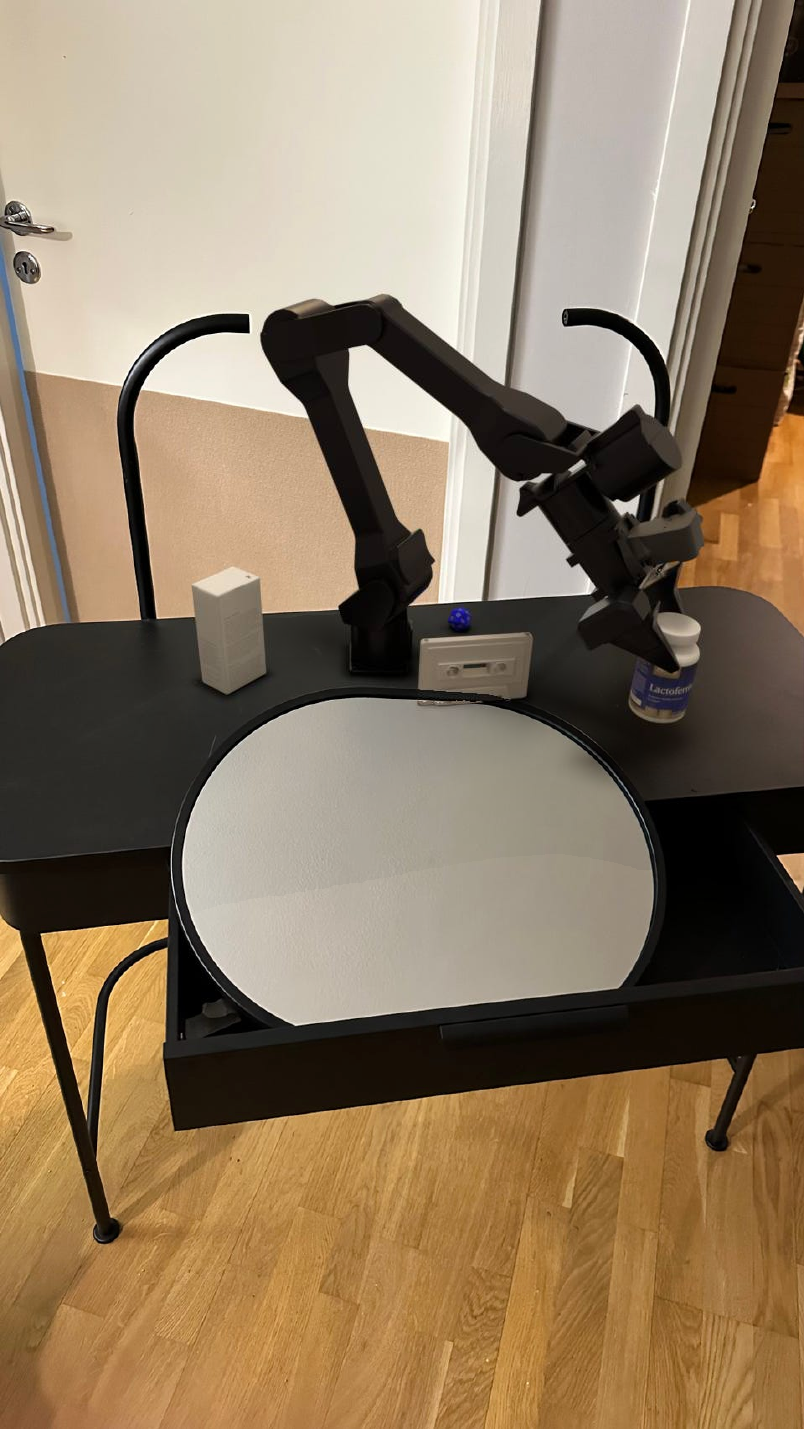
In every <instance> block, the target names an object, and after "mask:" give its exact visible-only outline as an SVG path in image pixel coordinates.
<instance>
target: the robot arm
mask: <svg viewBox="0 0 804 1429" xmlns="http://www.w3.org/2000/svg"><path fill="white" fill-rule="evenodd" d="M259 341H260V345H261V349H262V352H263V354H264V356H265V358H266V360H267V361H268V363H269V365H270V367H271V369H272V371H273V372H274V374H275V376H276V378H277V380H278V381H279V382H280V384H281V385H282V386H283V387H284V388H285V389H287V391H288V392H290V393H291V394H292V395H293V397H294V398H296V400H298V401H299V402H300V403H301V404H302V406H303V408H304V410H305V413H306V416H307V417H308V420H309V422H310V425H311V428H312V430H313V433H314V436H315V438H316V440H317V443H318V445H319V448H320V451H321V453H322V456H323V458H324V461H325V464H326V466H327V469H328V472H329V474H330V476H331V479H332V482H333V484H334V487H335V489H336V492H337V495H338V497H339V499H340V500H339V501H340V503H341V504H342V507H343V510H344V513H345V515H346V517H347V520H348V523H349V526H350V528H351V531H352V533H353V536H354V555H353V557H354V560H353V571H354V574H355V580H356V584H357V589H356V590H355V591H354V592H353V593H351V594H350V595H349V596H347V598H345V599H344V600H343V601H342V602H341V603H340V604H339V605H338V606H337V609H338V612H339V615H340V617H341V621H342V623H343V624H344V625H347V626H350V643H349V673H350V674H352V675H407V674H408V672H409V667H408V666H409V664H408V663H410V662H412V657H413V637H414V636H413V634H414V630H413V620H411V619H410V618H409V616H408V608H409V606H410V605H412V604H413V603H414V602H415V601H416V599H418V598H419V597H420V596H421V595H422V594H423V593H424V592H425V591H426V590H427V589H428V588H429V586H430V584H431V583H432V580H433V578H434V571H433V570H434V569H433V565H434V563H436V559H435V558H434V557H433V555H432V554H431V552H430V551H429V550H430V549H429V548H428V544H427V540H426V534H425V532H424V531H423V529H422V528H417V529H415V530H413V531H410V529H408V528H407V527H406V526H405V525H404V524H403V523H402V522H401V521H400V520H399V518H398V517H397V514H396V512H395V510H394V507H393V503H392V501H391V499H390V496H389V493H388V490H387V487H386V484H385V482H384V479H383V476H382V474H381V471H380V468H379V466H378V463H377V460H376V458H375V455H374V452H373V449H372V446H371V444H370V442H369V439H368V436H367V434H366V430H365V428H364V425H363V423H362V420H361V417H360V415H359V412H358V410H357V407H356V404H355V401H354V398H353V396H352V392H351V390H350V386H349V380H350V379H349V376H350V349H354V348H358V347H363V346H367V347H369V348H371V349H372V350H373V352H375V353H377V354H378V356H380V357H381V358H383V359H384V360H385V361H387V362H388V363H389V364H391V365H392V366H393V367H394V368H395V369H396V370H398V371H399V372H400V373H402V374H403V375H404V376H405V377H406V378H408V379H409V380H410V381H412V382H413V383H414V384H415V385H416V386H418V387H419V388H420V389H422V390H423V391H424V392H425V393H426V394H428V395H429V396H430V397H431V398H432V399H434V400H435V401H436V402H438V403H439V404H440V405H441V406H443V407H444V408H445V409H446V410H448V411H449V412H450V413H452V414H453V415H454V416H455V417H456V418H457V419H459V420H460V421H461V422H462V423H463V424H464V426H465V427H466V428H467V429H468V431H469V432H470V434H471V436H472V438H473V441H474V443H475V444H476V446H477V448H478V449H479V451H480V452H481V453H482V454H483V456H485V457H486V459H488V461H489V463H491V464H492V465H493V466H494V467H495V469H496V470H497V471H498V472H499V473H500V474H501V475H502V476H504V477H505V478H507V479H508V480H510V481H513V482H517V483H519V482H524V483H523V484H522V485H521V486H520V487H519V488H518V492H519V500H518V503H517V509H516V511H515V514H516V516H517V517H519V518H523V517H524V516H525V515H527V514H528V513H530V512H532V511H533V510H534V509H536V508H537V507H538V509H539V511H540V512H541V514H543V516H544V517H545V519H546V520H547V521H548V523H549V525H551V527H552V529H553V530H554V531H555V533H556V534H557V535H558V537H559V538H560V539H561V541H562V542H563V544H564V545H565V547H566V548H567V550H568V551H569V552H570V554H569V555H568V556H567V557H566V558H565V562H567V564H568V565H569V566H570V568H571V569H573V568H574V567H575V566H577V565H579V566H580V567H581V569H582V571H583V572H584V573H585V574H586V576H587V578H588V579H589V580H590V581H591V583H592V584H593V586H594V589H593V590H592V591H591V592H590V596H591V597H592V599H593V600H594V601H595V603H594V604H593V605H590V606H589V607H588V608H587V610H586V611H585V613H584V614H583V615H582V617H581V618H580V619H579V620H578V622H577V627H576V628H577V629H576V637H577V639H579V641H580V642H581V643H582V645H583V646H584V647H585V649H586V650H587V651H588V652H591V651H594V650H595V649H597V648H599V647H600V646H603V645H608V644H610V645H613V646H614V647H617V648H619V649H621V650H624V651H626V652H628V653H630V654H633V655H635V656H636V657H637V658H638V657H640V658H642V659H644V660H646V661H648V662H650V663H652V664H653V665H655V666H657V667H659V668H661V669H663V670H665V671H667V672H668V673H674V672H676V671H678V670H679V669H680V664H679V662H678V660H677V658H676V656H675V654H674V652H673V650H672V648H671V646H670V645H669V643H668V641H667V639H666V637H665V635H664V633H663V632H662V630H661V628H660V626H659V624H658V622H657V617H658V614H659V613H664V612H672V613H679V614H683V615H686V610H685V609H684V608H685V607H684V606H683V605H684V604H683V602H682V599H681V595H680V592H679V589H678V584H679V580H680V576H681V572H682V569H683V566H684V563H686V562H690V561H693V560H694V559H697V558H698V556H699V555H700V551H701V549H702V547H704V546H705V545H706V542H705V538H704V534H703V530H702V526H701V525H702V523H703V521H704V517H703V516H702V515H701V514H699V513H698V509H697V508H696V507H694V508H693V507H692V506H691V505H690V504H689V503H688V502H687V500H686V499H685V498H684V497H678V498H673V499H669V500H667V502H666V503H665V504H664V506H663V509H662V513H661V517H659V515H657V516H654V517H653V519H652V520H648V521H643V522H641V523H640V521H639V520H638V518H637V517H636V516H635V515H634V513H630V512H629V511H626V512H624V513H623V514H621V513H620V512H619V511H618V509H617V508H616V506H615V505H614V504H613V503H614V502H616V501H620V502H622V503H629V502H631V501H632V500H634V499H635V498H637V497H639V496H640V495H641V494H643V493H644V492H646V491H648V490H650V489H651V488H653V487H654V486H655V485H657V484H659V483H661V481H664V480H665V479H667V478H668V477H669V476H670V475H673V474H674V473H675V472H677V471H678V470H680V469H681V468H682V466H683V456H682V452H681V449H680V447H679V445H678V443H677V440H676V439H675V437H674V435H673V433H672V432H671V431H670V429H669V428H668V427H667V426H664V425H663V424H662V423H661V422H660V421H659V420H658V419H657V418H655V417H654V416H653V415H650V414H648V413H646V412H645V410H644V409H643V408H642V406H641V405H640V404H638V403H636V404H635V405H633V406H631V407H630V408H629V409H628V410H627V411H625V412H624V413H623V414H622V415H621V416H619V418H618V419H617V420H616V421H615V422H613V423H611V425H609V426H608V427H606V428H605V429H603V430H602V431H601V430H599V429H598V430H597V429H594V428H591V427H588V426H586V425H582V424H579V423H576V422H573V421H570V420H568V419H566V418H565V416H564V415H563V414H562V412H560V411H559V410H558V409H557V408H555V407H554V406H552V405H550V404H548V403H546V402H545V401H543V400H541V399H539V398H538V397H535V396H533V395H532V394H530V393H529V392H526V391H523V390H519V389H516V388H512V387H509V386H506V385H504V384H502V383H500V382H499V381H496V380H495V379H493V378H492V377H490V376H489V375H488V374H487V373H485V372H484V371H483V370H482V369H481V368H479V367H478V366H477V365H476V364H474V363H473V362H472V361H470V360H469V359H468V358H467V357H466V356H464V355H463V354H462V353H461V352H459V351H458V350H457V349H456V348H454V347H453V346H452V345H451V344H450V343H448V342H447V341H446V340H444V339H443V338H442V337H440V336H439V335H438V334H437V333H436V332H434V331H433V330H431V329H430V328H429V327H428V326H427V325H426V324H424V323H423V322H422V321H421V320H419V318H417V317H416V316H414V315H413V314H412V313H410V312H409V311H408V310H407V309H406V308H404V307H403V304H402V303H401V302H400V301H399V299H398V298H396V297H395V296H392V295H390V294H387V293H380V294H377V295H375V296H372V297H369V298H366V299H359V300H352V301H348V302H347V301H346V302H342V303H337V304H334V305H333V304H330V303H329V302H327V301H325V300H323V299H319V298H311V299H305V300H303V301H299V302H297V303H293V304H291V305H288V306H285V307H281V308H279V309H276V310H274V311H272V312H271V313H270V314H268V316H267V317H266V319H265V320H264V321H263V325H262V328H261V331H260V333H259ZM580 461H583V463H582V465H580V466H579V467H577V468H576V469H574V470H573V471H571V468H573V467H574V466H576V465H577V464H578V463H579V462H580ZM544 474H547V475H548V476H547V477H545V478H544V479H542V480H541V481H540V482H534V481H533V480H535V479H537V478H539V477H540V476H541V475H544ZM676 562H677V563H676ZM670 563H675V564H674V565H672V566H670V565H669V564H670ZM607 596H608V597H607ZM605 597H606V598H605ZM686 616H687V615H686Z"/></svg>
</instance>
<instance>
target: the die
mask: <svg viewBox="0 0 804 1429" xmlns="http://www.w3.org/2000/svg"><path fill="white" fill-rule="evenodd" d="M472 618H473V616H472V614H471V613H470V612H469V611H468V610H467V609H466V608H465V607H464V606H461V607H458V608H455V609H452V611H451V612H450V614H449V617H448V619H447V623H448V624H449V625H450V626H451V627H452V629H454V630H455V632H457V631H461V630H465V629H467V628H468V626H469V624H470V623H471V620H472Z"/></svg>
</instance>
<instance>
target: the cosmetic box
mask: <svg viewBox="0 0 804 1429" xmlns="http://www.w3.org/2000/svg"><path fill="white" fill-rule="evenodd" d="M191 592H192V603H193V611H194V619H195V620H194V621H195V627H196V639H197V645H198V654H199V662H200V664H199V665H200V672H201V681H202V683H204V685H205V684H206V685H207V686H209V687H210V688H211V687H212V688H213V689H215V690H217V691H219V692H221V693H223V694H224V695H230V694H231V693H233V692H235V691H237V690H238V689H241V688H243V687H244V686H245V685H248V684H250V683H251V682H253V681H255V680H257V679H259V678H260V677H262V676H264V675H266V674H267V665H266V664H267V661H266V648H265V634H264V620H263V619H264V618H263V604H262V603H263V602H262V590H261V578H260V577H259V576H257V575H255V574H253V573H250V572H248V571H246V570H244V569H241V568H239V567H236V566H230V567H228V568H226V569H224V570H222V571H219V572H216V573H215V574H212V575H210V576H208V577H206V578H203V579H201V580H199V581H196V582H194V583H192V584H191Z"/></svg>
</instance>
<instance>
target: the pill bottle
mask: <svg viewBox="0 0 804 1429" xmlns="http://www.w3.org/2000/svg"><path fill="white" fill-rule="evenodd" d="M657 622H658V624H659V626H660V628H661V630H662V632H663V633H664V635H665V637H666V639H667V641H668V643H669V645H670V646H671V648H672V650H673V652H674V654H675V656H676V658H677V660H678V662H679V664H680V669H679V670H678V671H676V672H674V673H668V672H667V671H665V670H663V669H661V668H659V667H657V666H655V665H653V664H652V663H650V662H648V661H646V660H644V659H642V658H640V657H638V656H637V660H636V665H635V670H634V674H633V678H632V683H631V688H630V692H629V697H628V706H629V708H630V710H631V711H632V712H633V713H634V714H635V715H636V716H637V717H639V718H641V719H643V720H646V721H648V722H652V723H656V724H669V723H675V722H677V721H679V720H681V719H682V718H683V717H684V716H685V714H686V711H687V708H688V704H689V699H690V696H691V692H692V688H693V684H694V680H695V677H696V673H697V669H698V665H699V661H700V657H701V656H700V655H701V651H700V648H699V645H697V642H698V641H699V638H700V634H701V629H702V628H701V624H700V623H699V622H698V621H697V620H695V619H694V618H692V617H691V616H688V615H683V614H679V613H672V612H664V613H659V614H658V617H657Z"/></svg>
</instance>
